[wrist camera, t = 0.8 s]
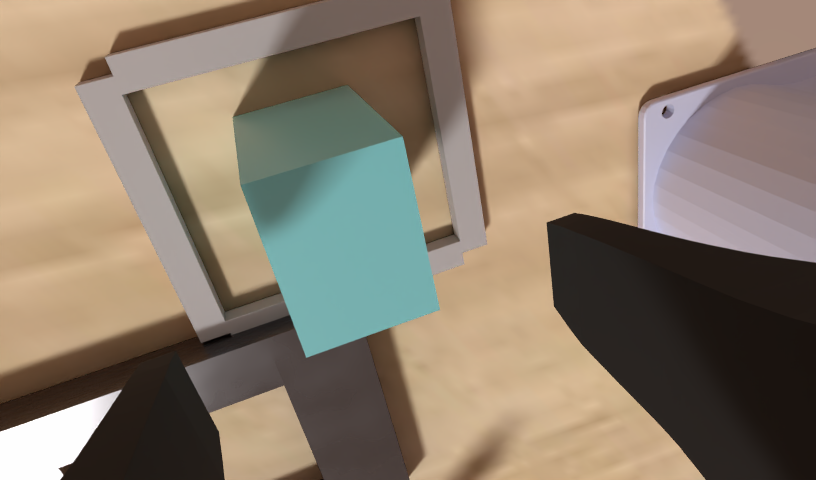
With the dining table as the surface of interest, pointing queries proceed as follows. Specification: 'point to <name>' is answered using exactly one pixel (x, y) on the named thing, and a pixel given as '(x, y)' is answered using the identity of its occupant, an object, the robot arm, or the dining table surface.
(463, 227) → the open picture frame
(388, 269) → the plug
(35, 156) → the dining table surface
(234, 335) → the port block
